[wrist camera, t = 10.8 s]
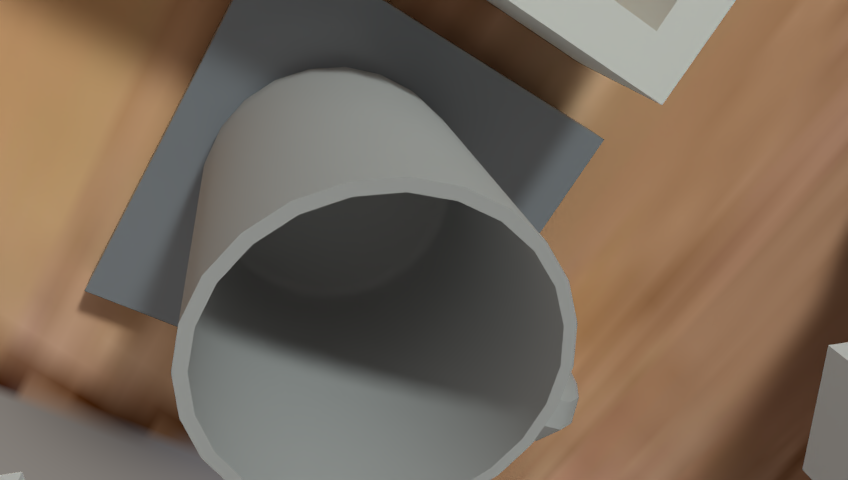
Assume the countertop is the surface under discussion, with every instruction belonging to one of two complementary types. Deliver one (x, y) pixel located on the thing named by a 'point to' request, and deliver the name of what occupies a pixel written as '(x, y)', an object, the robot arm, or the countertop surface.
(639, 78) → the cold frame
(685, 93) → the countertop surface
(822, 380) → the robot arm
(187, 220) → the slate tile
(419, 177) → the cup
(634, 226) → the countertop surface
